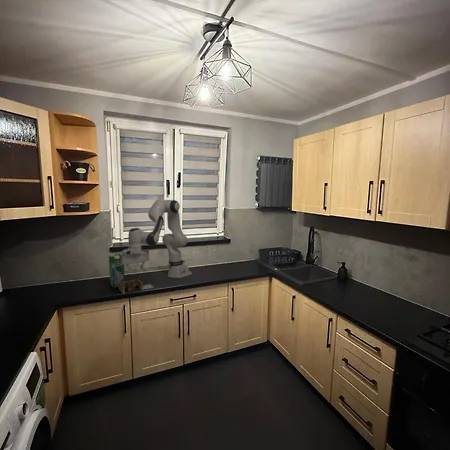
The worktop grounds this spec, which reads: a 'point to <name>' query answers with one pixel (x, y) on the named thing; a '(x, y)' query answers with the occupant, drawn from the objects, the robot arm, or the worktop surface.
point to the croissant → (123, 285)
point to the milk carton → (116, 270)
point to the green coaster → (147, 286)
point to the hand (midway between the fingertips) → (135, 268)
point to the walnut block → (130, 285)
